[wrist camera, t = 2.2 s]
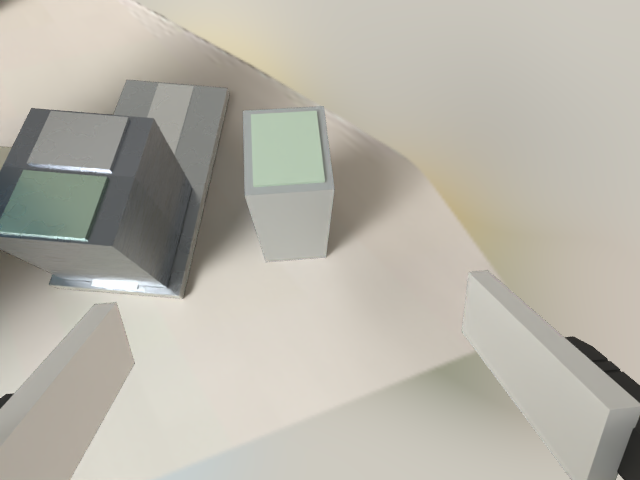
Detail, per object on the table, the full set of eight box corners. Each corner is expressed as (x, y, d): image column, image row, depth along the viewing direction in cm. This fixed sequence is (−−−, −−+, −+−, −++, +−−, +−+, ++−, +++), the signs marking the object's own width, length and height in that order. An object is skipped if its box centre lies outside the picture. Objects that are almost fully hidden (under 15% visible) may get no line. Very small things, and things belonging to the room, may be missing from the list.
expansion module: (265, 262, 30) (244, 193, 20) (263, 199, 33) (242, 108, 22) (325, 257, 31) (334, 187, 20) (319, 195, 33) (324, 103, 23)
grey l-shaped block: (56, 288, 29) (-58, 239, 20) (131, 87, 37) (74, -11, 28) (183, 298, 29) (126, 254, 20) (229, 95, 37) (203, -1, 28)
